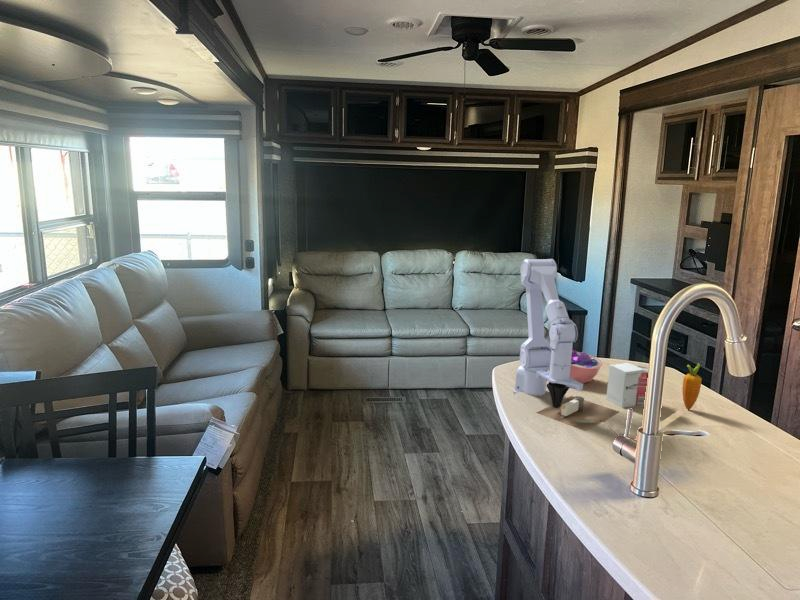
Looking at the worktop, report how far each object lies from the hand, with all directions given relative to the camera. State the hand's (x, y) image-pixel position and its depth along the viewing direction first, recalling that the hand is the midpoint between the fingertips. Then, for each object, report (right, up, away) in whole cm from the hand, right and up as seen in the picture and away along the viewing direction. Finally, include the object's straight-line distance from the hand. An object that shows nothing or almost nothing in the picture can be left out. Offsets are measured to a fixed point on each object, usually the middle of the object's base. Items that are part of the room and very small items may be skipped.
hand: (556, 406), depth 169 cm
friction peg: (+4, -2, -1) cm, 4 cm away
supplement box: (+23, -1, +9) cm, 25 cm away
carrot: (+43, -2, +7) cm, 43 cm away
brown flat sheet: (+7, -3, 0) cm, 7 cm away
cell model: (+13, +3, +29) cm, 32 cm away
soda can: (+28, -2, +9) cm, 29 cm away
